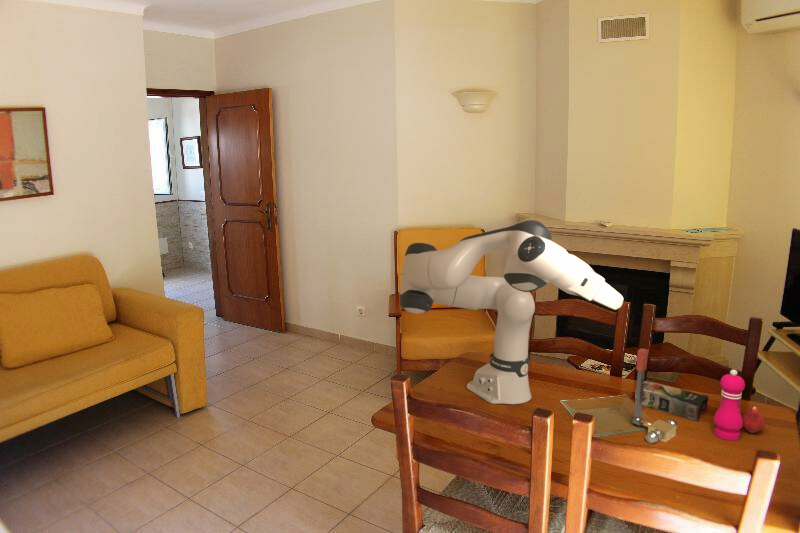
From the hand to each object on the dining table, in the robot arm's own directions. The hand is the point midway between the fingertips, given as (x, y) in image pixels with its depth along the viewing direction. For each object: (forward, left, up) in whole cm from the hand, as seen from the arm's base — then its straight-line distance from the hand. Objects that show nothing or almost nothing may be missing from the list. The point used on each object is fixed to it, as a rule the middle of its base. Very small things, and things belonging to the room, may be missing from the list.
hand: (607, 297), depth 148 cm
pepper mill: (+20, +35, -43) cm, 59 cm away
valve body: (+6, +21, -43) cm, 48 cm away
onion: (+24, +42, -43) cm, 65 cm away
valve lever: (0, +21, -42) cm, 47 cm away
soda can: (+16, +47, -43) cm, 66 cm away
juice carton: (+1, +40, -44) cm, 59 cm away
